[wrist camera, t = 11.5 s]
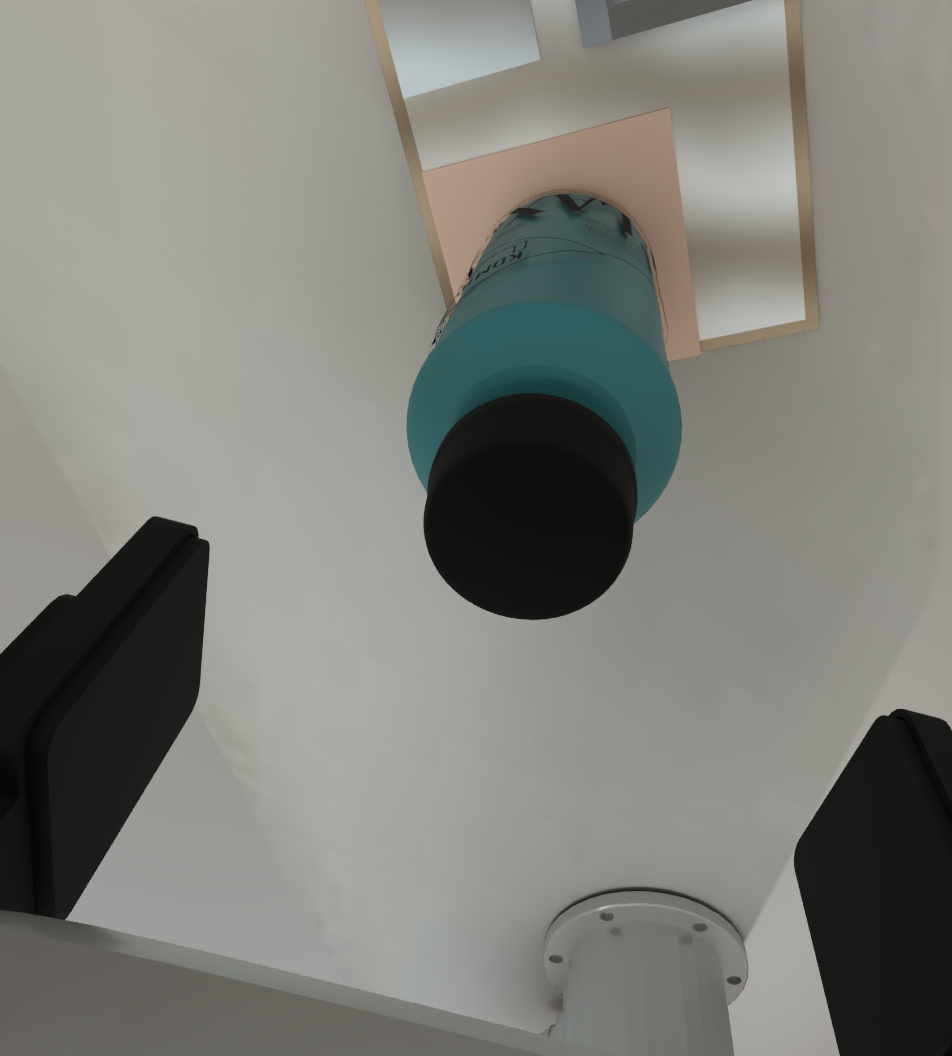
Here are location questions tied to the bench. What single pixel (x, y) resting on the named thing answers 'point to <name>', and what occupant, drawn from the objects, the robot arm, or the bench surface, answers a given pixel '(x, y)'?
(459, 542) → the beverage bottle
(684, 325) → the terracotta square
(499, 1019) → the bench surface
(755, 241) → the wooden tray
